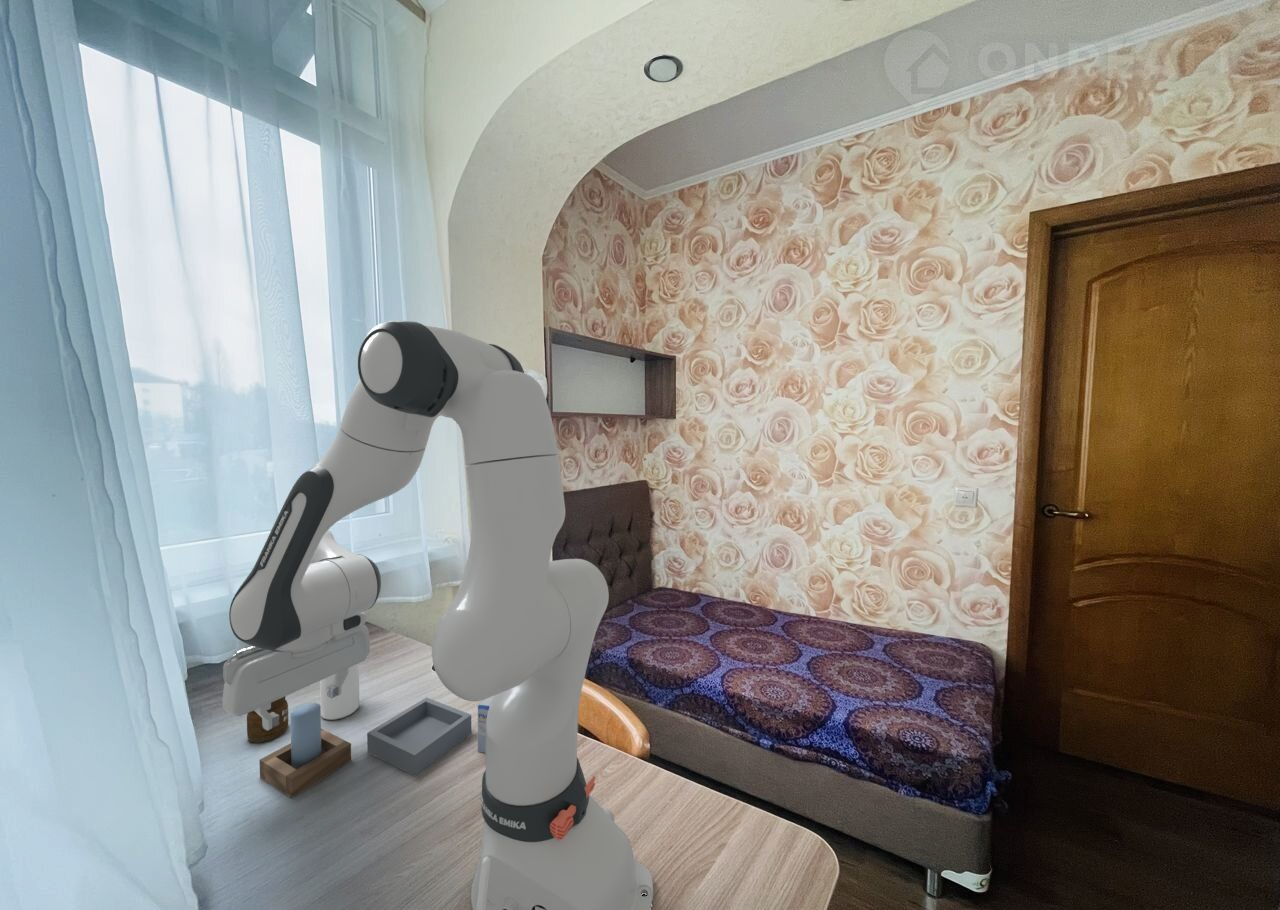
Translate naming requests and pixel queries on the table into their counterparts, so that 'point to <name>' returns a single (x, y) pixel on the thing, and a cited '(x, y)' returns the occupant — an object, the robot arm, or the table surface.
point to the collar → (297, 780)
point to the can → (341, 696)
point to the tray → (419, 735)
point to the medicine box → (483, 723)
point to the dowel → (305, 734)
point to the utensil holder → (255, 722)
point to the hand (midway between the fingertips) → (304, 710)
